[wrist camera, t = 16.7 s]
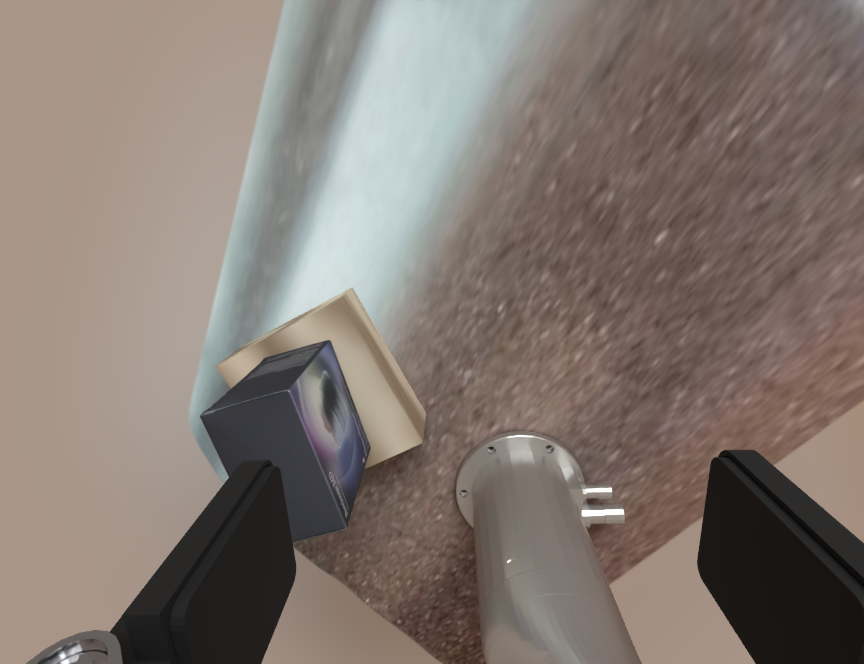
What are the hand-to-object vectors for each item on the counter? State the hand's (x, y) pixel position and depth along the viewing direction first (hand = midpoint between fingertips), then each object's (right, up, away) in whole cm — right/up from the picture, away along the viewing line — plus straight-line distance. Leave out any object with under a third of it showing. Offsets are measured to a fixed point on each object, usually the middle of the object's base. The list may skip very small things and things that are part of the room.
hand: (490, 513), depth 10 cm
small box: (-11, -2, +29) cm, 31 cm away
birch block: (-10, 0, +35) cm, 37 cm away
